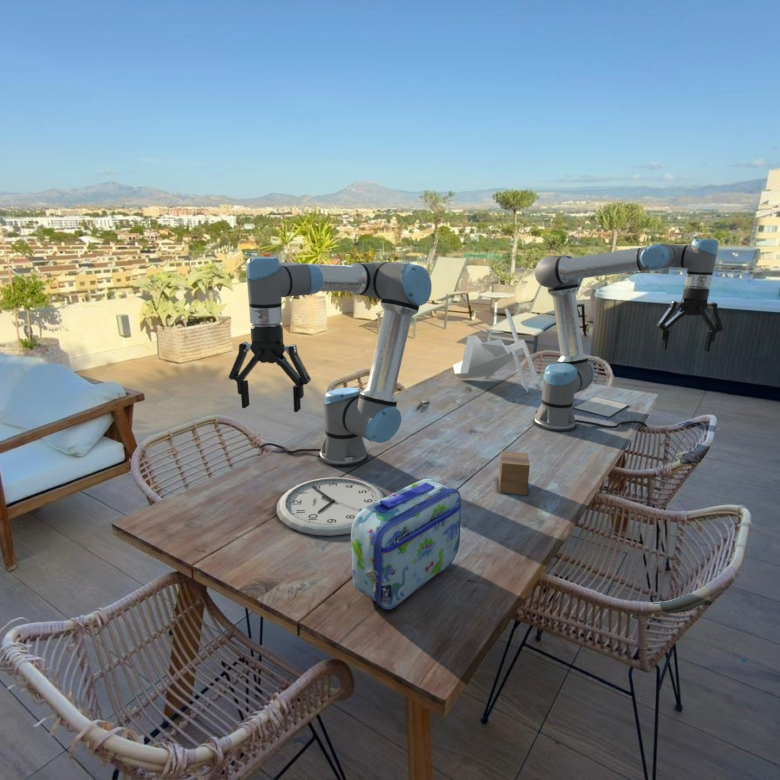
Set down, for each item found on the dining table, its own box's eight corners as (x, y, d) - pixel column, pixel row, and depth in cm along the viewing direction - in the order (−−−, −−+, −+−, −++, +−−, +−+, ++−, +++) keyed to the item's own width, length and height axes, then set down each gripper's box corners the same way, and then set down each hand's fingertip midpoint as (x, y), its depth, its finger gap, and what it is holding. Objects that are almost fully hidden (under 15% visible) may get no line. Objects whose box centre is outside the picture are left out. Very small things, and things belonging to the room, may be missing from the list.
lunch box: (380, 623, 100) (381, 528, 94) (344, 596, 108) (343, 505, 101) (464, 565, 118) (470, 482, 112) (428, 545, 125) (432, 466, 119)
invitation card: (608, 416, 214) (573, 407, 224) (608, 416, 214) (573, 408, 224) (628, 404, 229) (594, 396, 238) (628, 405, 229) (594, 397, 238)
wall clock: (392, 527, 129) (268, 531, 127) (391, 533, 130) (269, 537, 127) (383, 473, 158) (282, 475, 155) (383, 478, 158) (282, 480, 156)
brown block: (498, 479, 159) (501, 451, 156) (524, 481, 158) (527, 453, 155) (499, 492, 151) (502, 463, 149) (526, 495, 150) (529, 465, 147)
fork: (413, 410, 217) (413, 405, 217) (424, 399, 232) (424, 394, 231) (419, 411, 217) (419, 406, 216) (429, 399, 231) (430, 395, 230)
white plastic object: (474, 421, 262) (452, 398, 237) (456, 348, 284) (434, 320, 259) (546, 397, 250) (531, 370, 225) (521, 322, 272) (505, 290, 247)
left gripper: (209, 324, 123) (217, 409, 129) (311, 329, 119) (314, 417, 125) (225, 319, 130) (231, 400, 136) (321, 323, 126) (323, 407, 132)
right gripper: (660, 287, 172) (649, 350, 178) (743, 289, 168) (729, 354, 175) (653, 284, 179) (643, 345, 185) (732, 287, 175) (719, 349, 182)
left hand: (271, 408), depth 131 cm, fingers open, 13 cm apart
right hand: (685, 349), depth 180 cm, fingers open, 13 cm apart
